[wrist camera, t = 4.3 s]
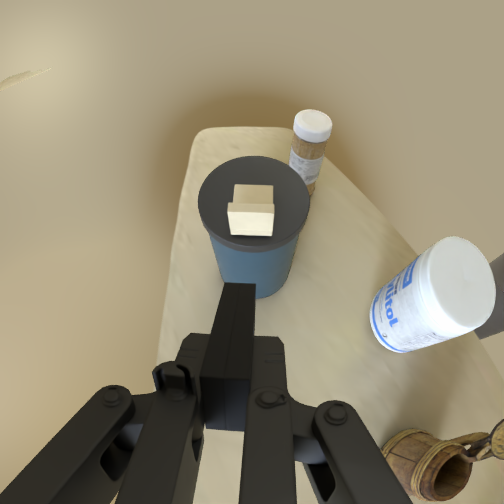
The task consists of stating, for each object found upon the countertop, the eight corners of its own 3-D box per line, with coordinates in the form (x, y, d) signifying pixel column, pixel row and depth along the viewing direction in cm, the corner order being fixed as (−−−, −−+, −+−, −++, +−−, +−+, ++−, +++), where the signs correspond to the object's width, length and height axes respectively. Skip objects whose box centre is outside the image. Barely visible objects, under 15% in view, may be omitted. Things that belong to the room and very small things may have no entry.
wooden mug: (460, 445, 27) (554, 449, 11) (384, 502, 24) (464, 549, 8) (443, 398, 30) (542, 384, 14) (363, 454, 28) (448, 489, 12)
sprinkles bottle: (309, 174, 45) (325, 107, 33) (317, 197, 44) (338, 130, 31) (281, 177, 45) (290, 108, 33) (288, 201, 43) (301, 132, 31)
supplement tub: (363, 285, 37) (415, 229, 24) (421, 283, 38) (483, 233, 24) (370, 358, 33) (436, 335, 20) (431, 350, 33) (505, 323, 20)
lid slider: (272, 236, 23) (274, 213, 20) (230, 235, 23) (227, 212, 20) (272, 190, 25) (274, 165, 22) (235, 189, 25) (232, 164, 22)
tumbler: (291, 302, 37) (312, 248, 23) (214, 299, 37) (189, 243, 23) (291, 234, 41) (307, 157, 27) (221, 231, 41) (205, 154, 27)
